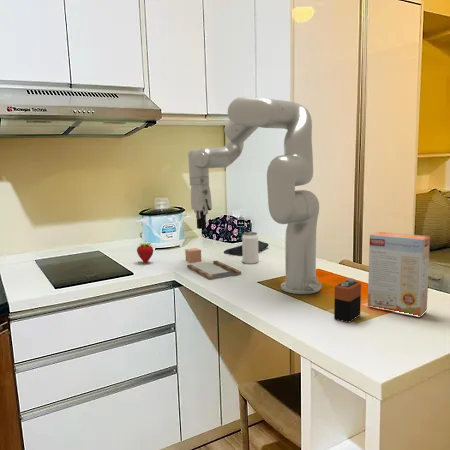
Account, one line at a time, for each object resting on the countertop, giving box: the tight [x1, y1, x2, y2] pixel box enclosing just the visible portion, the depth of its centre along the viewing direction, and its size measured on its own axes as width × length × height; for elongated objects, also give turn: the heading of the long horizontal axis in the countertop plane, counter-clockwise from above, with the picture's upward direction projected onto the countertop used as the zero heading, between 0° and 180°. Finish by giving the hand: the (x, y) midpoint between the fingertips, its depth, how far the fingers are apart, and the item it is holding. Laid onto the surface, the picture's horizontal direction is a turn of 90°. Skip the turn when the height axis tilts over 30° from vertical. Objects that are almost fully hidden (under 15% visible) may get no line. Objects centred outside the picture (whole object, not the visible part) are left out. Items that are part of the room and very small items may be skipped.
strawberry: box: [136, 241, 154, 264], centre depth 173 cm, size 6×8×10 cm
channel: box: [186, 260, 242, 281], centre depth 159 cm, size 20×13×1 cm, turn 28°
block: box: [184, 247, 202, 264], centre depth 175 cm, size 5×5×5 cm
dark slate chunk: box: [223, 240, 269, 257], centre depth 192 cm, size 15×22×5 cm
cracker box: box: [367, 231, 431, 316], centre depth 112 cm, size 14×6×21 cm, turn 48°
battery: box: [333, 277, 362, 323], centre depth 109 cm, size 4×7×10 cm, turn 137°
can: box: [241, 231, 259, 265], centre depth 170 cm, size 6×6×12 cm
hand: (201, 228), depth 165 cm, fingers closed
